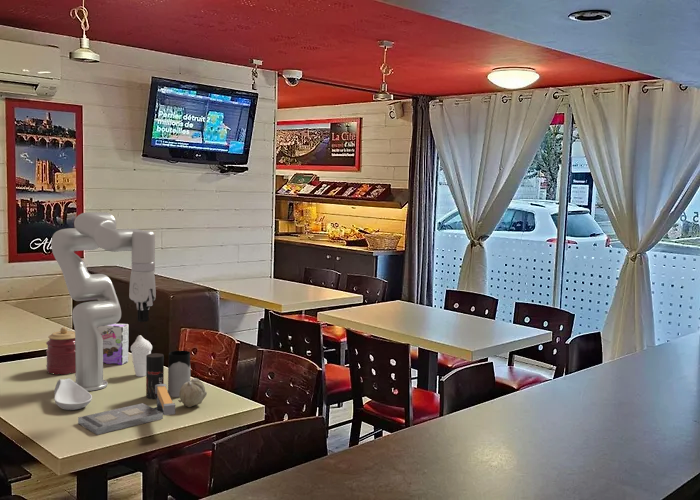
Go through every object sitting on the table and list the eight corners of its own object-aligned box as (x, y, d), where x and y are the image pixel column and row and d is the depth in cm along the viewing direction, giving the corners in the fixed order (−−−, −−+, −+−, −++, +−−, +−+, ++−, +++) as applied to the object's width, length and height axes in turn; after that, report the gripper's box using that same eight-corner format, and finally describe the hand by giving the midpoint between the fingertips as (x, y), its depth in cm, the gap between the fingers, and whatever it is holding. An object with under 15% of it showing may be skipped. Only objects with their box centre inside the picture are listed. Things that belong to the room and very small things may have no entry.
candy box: (91, 362, 285) (91, 324, 284) (99, 359, 291) (98, 321, 290) (122, 365, 283) (122, 326, 282) (129, 361, 289) (129, 323, 287)
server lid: (78, 423, 213) (78, 416, 213) (142, 408, 229) (142, 402, 228) (97, 434, 204) (97, 427, 204) (162, 418, 220) (162, 411, 219)
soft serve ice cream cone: (156, 374, 270) (156, 335, 269) (140, 379, 263) (140, 338, 262) (142, 371, 275) (142, 332, 273) (125, 375, 268) (125, 335, 266)
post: (147, 411, 226) (147, 393, 226) (163, 407, 231) (164, 389, 230) (157, 416, 222) (157, 397, 222) (173, 412, 226) (173, 394, 226)
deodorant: (158, 399, 239) (158, 357, 238) (143, 398, 240) (143, 356, 239) (166, 394, 245) (166, 354, 243) (151, 393, 246) (151, 352, 245)
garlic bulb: (206, 402, 238) (206, 374, 237) (206, 410, 230) (207, 381, 229) (178, 403, 236) (178, 375, 235) (177, 411, 228) (178, 381, 227)
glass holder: (166, 397, 242) (166, 356, 240) (168, 386, 256) (168, 346, 254) (191, 396, 244) (191, 355, 242) (192, 385, 257) (192, 346, 256)
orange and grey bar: (163, 415, 204) (163, 406, 204) (154, 392, 227) (154, 383, 226) (175, 414, 206) (175, 405, 205) (165, 391, 228) (165, 383, 228)
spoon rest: (96, 410, 227) (96, 389, 226) (59, 416, 220) (59, 394, 219) (77, 392, 246) (77, 372, 245) (42, 397, 239) (42, 377, 238)
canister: (73, 375, 266) (73, 331, 264) (40, 374, 266) (39, 330, 264) (86, 367, 279) (86, 324, 277) (55, 366, 279) (54, 323, 277)
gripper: (122, 266, 231) (122, 319, 233) (144, 270, 221) (144, 326, 222) (142, 264, 236) (142, 316, 238) (164, 269, 226) (164, 323, 227)
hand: (143, 321), depth 230 cm, fingers closed
